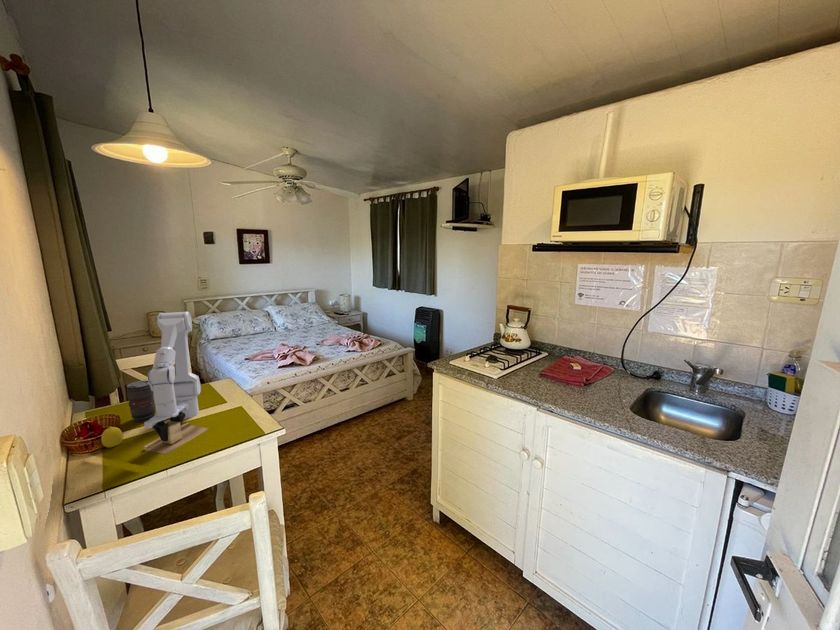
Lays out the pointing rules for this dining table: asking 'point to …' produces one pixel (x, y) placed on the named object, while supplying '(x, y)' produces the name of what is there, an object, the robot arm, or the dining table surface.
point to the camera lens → (141, 401)
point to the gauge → (173, 432)
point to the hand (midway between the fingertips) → (171, 437)
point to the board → (187, 435)
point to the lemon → (112, 437)
